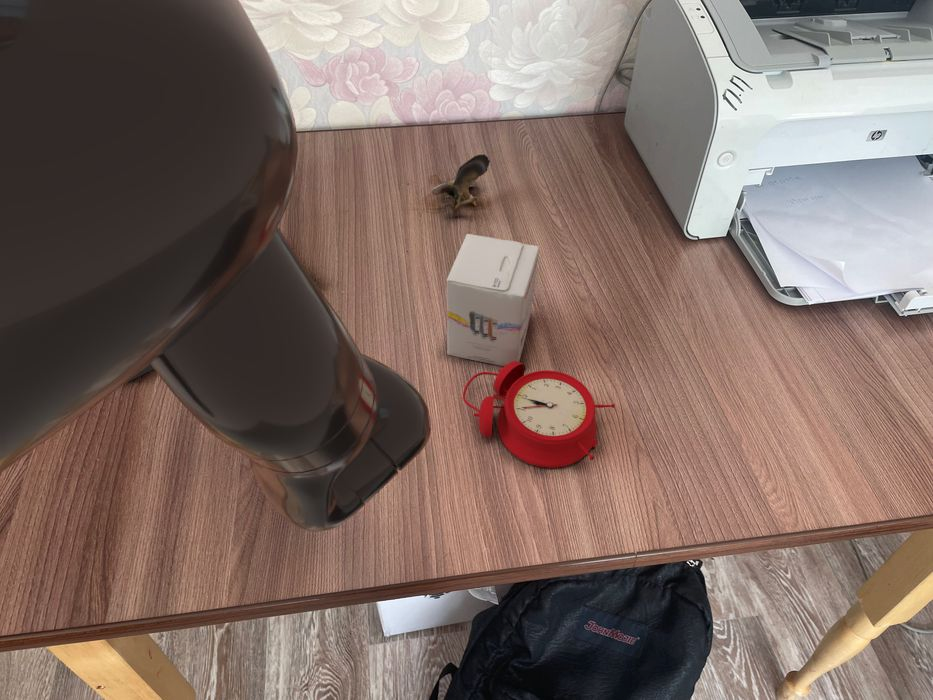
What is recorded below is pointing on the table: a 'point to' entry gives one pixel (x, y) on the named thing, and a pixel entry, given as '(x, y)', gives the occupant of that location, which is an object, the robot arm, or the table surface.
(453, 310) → the ink box
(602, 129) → the table surface
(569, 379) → the alarm clock
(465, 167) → the eagle figurine
